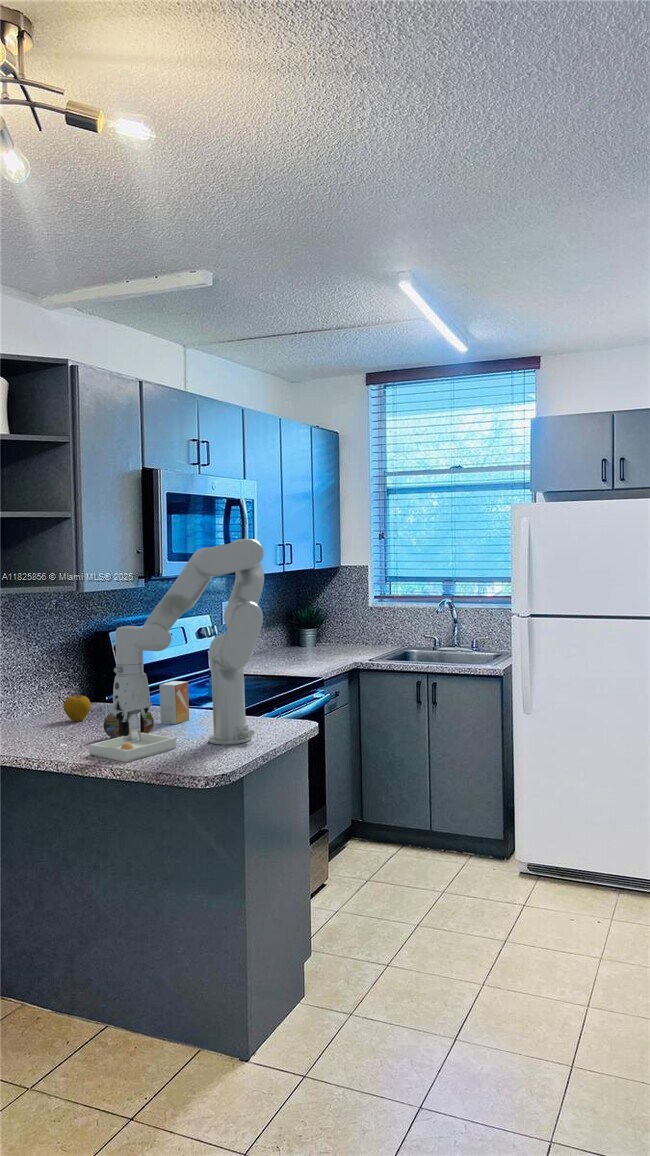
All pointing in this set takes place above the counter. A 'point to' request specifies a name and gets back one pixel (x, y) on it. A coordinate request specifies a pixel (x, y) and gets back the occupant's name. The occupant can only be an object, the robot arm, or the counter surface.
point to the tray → (141, 748)
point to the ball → (127, 746)
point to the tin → (113, 725)
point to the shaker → (133, 726)
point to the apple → (77, 707)
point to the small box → (174, 702)
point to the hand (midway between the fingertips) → (131, 732)
